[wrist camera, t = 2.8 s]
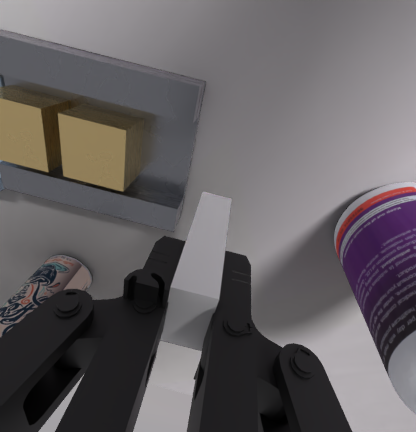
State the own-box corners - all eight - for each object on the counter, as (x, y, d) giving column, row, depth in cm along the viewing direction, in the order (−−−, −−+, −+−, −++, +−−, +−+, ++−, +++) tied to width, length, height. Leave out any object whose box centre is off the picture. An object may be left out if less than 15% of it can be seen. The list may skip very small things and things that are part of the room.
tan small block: (12, 84, 18) (-28, 91, 15) (70, 99, 18) (40, 108, 15) (21, 143, 20) (-12, 157, 18) (74, 156, 20) (48, 172, 18)
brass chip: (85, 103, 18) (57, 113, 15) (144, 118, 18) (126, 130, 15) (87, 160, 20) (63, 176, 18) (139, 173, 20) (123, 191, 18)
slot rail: (2, 29, 17) (-33, 27, 15) (206, 81, 17) (199, 86, 15) (27, 174, 22) (3, 188, 20) (180, 214, 22) (173, 231, 20)
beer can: (78, 247, 26) (-34, 376, 16) (103, 283, 28) (18, 416, 18) (39, 255, 27) (-87, 379, 17) (65, 289, 29) (-32, 416, 19)
